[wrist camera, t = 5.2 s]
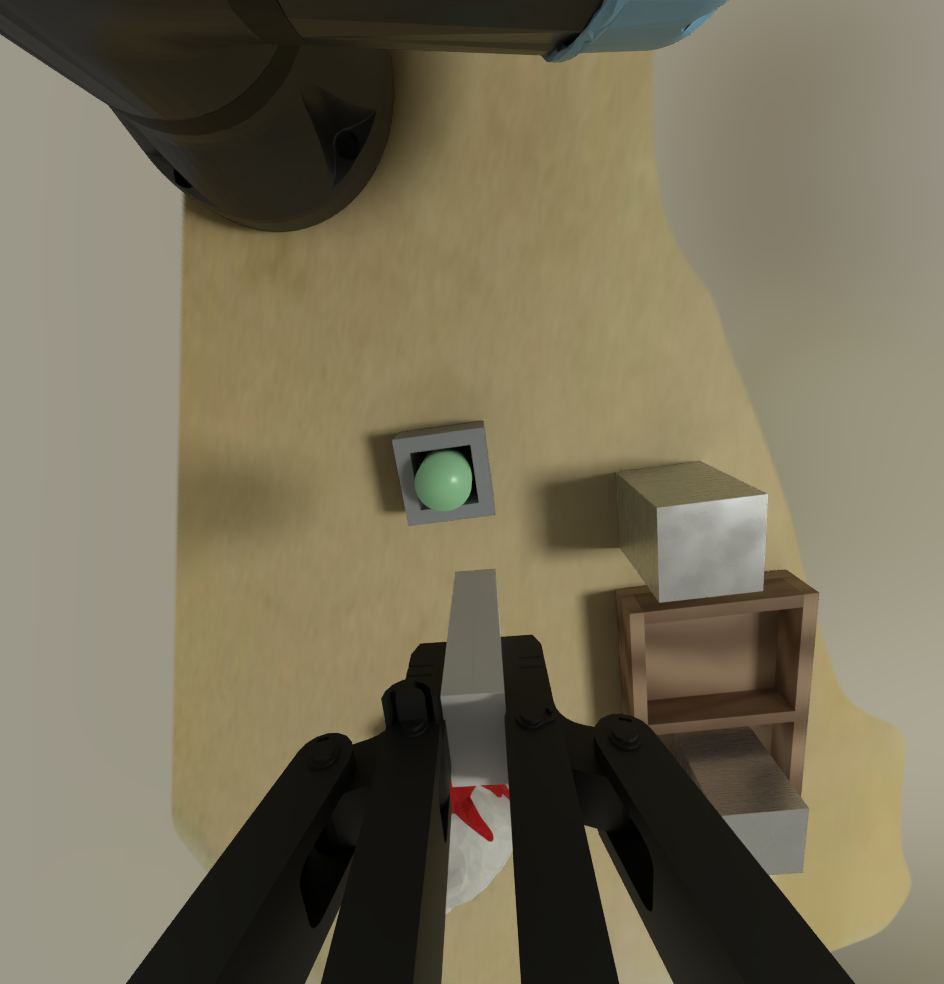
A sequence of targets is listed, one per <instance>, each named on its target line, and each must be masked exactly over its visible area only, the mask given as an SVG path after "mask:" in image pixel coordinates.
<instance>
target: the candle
mask: <svg viewBox="0 0 944 984" xmlns="http://www.w3.org/2000/svg"><path fill="white" fill-rule="evenodd" d="M450 798H451V805H452V815H451V831H450V848H449V864H448V880H447V897H446V913H445V914H447V913H449V912H450V910H452V909H453V907H455V906H458V905H460V904H463V903H465V902H468V901H470V900H471V899H472V898H474V897H475V896H476V895H478V894H479V893H480V892H481V891H483V890H484V889H485V888H486V887H487V886H488V885H489V884H490V882H491V881H492V879H493V878H494V876H496V875H497V874H498V873H499V872H500V870H501V869H502V868H503V866H504V865H505V863H506V861H507V860H508V858H509V857H510V855H511V853H512V851H513V847H512V832H511V816H510V800H509V785H508V784H499V785H481V786H463V787H452V780H451V781H450Z"/></svg>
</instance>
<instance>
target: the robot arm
mask: <svg viewBox="0 0 944 984" xmlns="http://www.w3.org/2000/svg"><path fill="white" fill-rule="evenodd" d="M727 1H728V0H0V34H1V35H2V36H4V37H5V38H7V39H8V40H10V41H11V42H13V43H14V44H16V45H17V46H19V47H20V48H22V49H23V50H25V51H26V52H28V53H30V54H31V55H33V56H34V57H36V58H37V59H39V60H40V61H42V62H43V63H45V64H46V65H48V66H49V67H51V68H52V69H54V70H55V71H57V72H58V73H60V74H61V75H63V76H64V77H66V78H67V79H69V80H70V81H72V82H74V83H75V84H77V85H78V86H80V87H81V88H83V89H84V90H86V91H87V92H89V93H90V94H92V95H93V96H95V97H96V98H98V99H100V100H101V101H103V102H104V103H106V104H107V105H109V107H110V108H111V109H112V111H113V112H114V113H115V114H116V116H117V117H118V119H119V120H120V121H121V122H122V124H123V125H124V126H125V128H126V129H127V130H128V132H129V133H130V134H131V135H132V137H133V138H134V139H135V141H136V142H137V143H138V145H139V146H140V147H141V148H142V150H143V151H144V152H145V154H146V155H147V156H148V157H149V159H150V160H151V161H152V162H153V163H154V165H155V166H156V167H157V168H158V169H159V170H160V171H161V173H163V174H164V175H165V176H166V177H167V178H168V179H169V180H170V181H171V182H172V183H173V184H174V185H175V186H177V187H178V188H179V189H180V190H181V191H182V192H184V193H185V194H186V195H188V196H189V197H190V198H192V199H193V200H195V201H196V202H198V203H199V204H201V205H203V206H205V207H206V208H208V209H210V210H212V211H214V212H216V213H217V214H219V215H221V216H223V217H225V218H227V219H229V220H231V221H233V222H236V223H238V224H241V225H244V226H247V227H251V228H255V229H259V230H266V231H292V230H299V229H303V228H307V227H310V226H314V225H316V224H319V223H321V222H323V221H325V220H327V219H329V218H331V217H332V216H334V215H336V214H337V213H339V212H340V211H341V210H343V209H344V208H345V207H346V206H347V205H348V204H350V203H351V202H352V201H353V200H354V199H355V198H356V197H357V196H358V194H359V193H360V192H361V191H362V190H363V188H364V187H365V186H366V184H367V183H368V181H369V180H370V178H371V177H372V175H373V173H374V171H375V170H376V168H377V166H378V164H379V161H380V159H381V157H382V154H383V152H384V149H385V146H386V143H387V139H388V135H389V131H390V126H391V121H392V114H393V102H394V80H393V68H392V61H391V55H390V50H389V49H396V50H421V51H446V52H471V53H496V54H521V55H541V56H542V57H543V58H544V59H545V60H546V61H547V62H554V63H556V62H564V61H566V60H569V59H572V58H574V57H575V56H577V55H578V54H579V53H595V52H622V51H648V50H655V49H659V48H663V47H666V46H669V45H671V44H674V43H675V42H678V41H679V40H682V39H683V38H685V37H686V36H688V35H690V34H691V33H692V32H693V31H695V30H696V29H697V28H698V27H699V26H700V25H702V24H703V23H704V22H705V21H706V20H707V19H708V18H709V17H711V16H712V14H713V13H714V12H715V11H716V10H717V9H718V7H720V6H722V5H723V4H725V3H726V2H727ZM381 700H382V706H383V711H384V717H385V723H386V730H385V731H384V732H382V733H381V734H379V735H377V736H375V737H373V738H370V739H368V740H365V741H362V742H359V743H356V744H353V745H352V742H351V740H350V739H349V738H348V737H347V736H345V735H343V734H340V733H328V734H324V735H321V736H318V737H316V738H314V739H313V740H311V741H309V742H308V743H306V744H305V745H304V746H303V747H302V748H301V749H300V750H299V751H298V753H297V754H296V755H295V757H294V758H293V759H292V761H291V762H290V763H289V765H288V766H287V768H286V769H285V770H284V772H283V773H282V774H281V776H280V777H279V778H278V780H277V781H276V782H275V784H274V785H273V786H272V788H271V789H270V790H269V792H268V793H267V794H266V796H265V797H264V799H263V800H262V801H261V803H260V804H259V805H258V807H257V808H256V809H255V811H254V812H253V813H252V815H251V816H250V817H249V819H248V820H247V821H246V823H245V824H244V825H243V827H242V828H241V829H240V831H239V832H238V834H237V835H236V836H235V838H234V839H233V840H232V842H231V843H230V844H229V846H228V847H227V848H226V850H225V851H224V852H223V854H222V855H221V856H220V858H219V859H218V860H217V862H216V863H215V864H214V866H213V867H212V869H211V870H210V871H209V873H208V874H207V875H206V877H205V878H204V879H203V881H202V882H201V883H200V885H199V886H198V888H197V889H196V890H195V891H194V893H193V894H192V895H191V897H190V898H189V899H188V901H187V902H186V904H185V905H184V906H183V908H182V909H181V910H180V912H179V913H178V914H177V916H176V917H175V918H174V920H173V921H172V922H171V924H170V925H169V926H168V928H167V929H166V930H165V932H164V933H163V934H162V936H161V937H160V939H159V940H158V941H157V943H156V944H155V946H154V947H153V948H152V949H151V951H150V952H149V953H148V955H147V956H146V957H145V959H144V960H143V961H142V963H141V964H140V965H139V967H138V968H137V970H136V971H135V972H134V974H133V975H132V976H131V978H130V979H129V980H128V982H127V983H126V984H305V982H306V980H307V978H308V976H309V973H310V971H311V969H312V967H313V965H314V963H315V960H316V958H317V956H318V954H319V952H320V950H321V947H322V945H323V943H324V941H325V939H326V936H327V934H328V932H329V930H330V928H331V926H332V923H333V921H334V919H335V917H336V915H337V913H338V910H339V908H340V911H339V915H338V919H337V922H336V926H335V930H334V934H333V938H332V942H331V946H330V950H329V954H328V958H327V962H326V966H325V970H324V973H323V977H322V981H321V984H441V979H442V963H443V946H444V930H445V913H446V897H447V880H448V864H449V848H450V831H451V815H452V805H451V798H450V781H451V780H452V787H463V786H481V785H499V784H508V785H509V800H510V816H511V832H512V847H513V863H514V879H515V894H516V910H517V926H518V941H519V957H520V973H521V984H619V981H618V976H617V972H616V967H615V963H614V958H613V954H612V949H611V945H610V940H609V936H608V931H607V926H606V922H605V917H604V913H603V908H602V904H601V899H600V895H599V890H598V886H597V881H596V877H595V872H594V868H593V863H592V859H591V854H590V850H589V845H588V841H587V836H586V832H585V827H584V825H586V826H590V827H593V828H597V829H598V832H599V835H600V837H601V839H602V841H603V843H604V845H605V847H606V849H607V851H608V853H609V855H610V857H611V859H612V861H613V863H614V865H615V867H616V869H617V871H618V873H619V875H620V877H621V879H622V881H623V883H624V885H625V887H626V889H627V891H628V893H629V895H630V897H631V899H632V901H633V903H634V905H635V907H636V909H637V911H638V913H639V915H640V917H641V919H642V921H643V923H644V925H645V927H646V929H647V931H648V933H649V935H650V937H651V939H652V941H653V943H654V945H655V947H656V949H657V951H658V953H659V955H660V957H661V959H662V961H663V963H664V965H665V967H666V969H667V971H668V973H669V975H670V977H671V979H672V981H673V983H674V984H855V983H854V982H853V980H852V979H851V978H850V977H849V975H848V974H847V973H846V972H845V970H844V969H843V968H842V967H841V965H840V964H839V963H838V962H837V960H836V959H835V958H834V957H833V955H832V954H831V953H830V952H829V950H828V949H827V948H826V947H825V945H824V944H823V943H822V942H821V940H820V939H819V938H818V937H817V935H816V934H815V933H814V932H813V930H812V929H811V928H810V927H809V925H808V924H807V923H806V922H805V920H804V919H803V918H802V917H801V915H800V914H799V913H798V912H797V910H796V909H795V908H794V907H793V905H792V904H791V903H790V901H789V900H788V899H787V898H786V896H785V895H784V894H783V893H782V891H781V890H780V889H779V888H778V886H777V885H776V884H775V883H774V881H773V880H772V879H771V878H770V876H769V875H768V874H767V873H766V871H765V870H764V869H763V868H762V866H761V865H760V864H759V863H758V861H757V860H756V859H755V858H754V856H753V855H752V854H751V853H750V851H749V850H748V849H747V848H746V846H745V845H744V844H743V843H742V841H741V840H740V839H739V838H738V836H737V835H736V834H735V833H734V831H733V830H732V829H731V828H730V826H729V825H728V824H727V823H726V821H725V820H724V819H723V818H722V816H721V815H720V814H719V813H718V811H717V810H716V809H715V808H714V806H713V805H712V804H711V803H710V801H709V800H708V799H707V798H706V796H705V795H704V794H703V793H702V791H701V790H700V789H699V788H698V786H697V785H696V784H695V783H694V781H693V780H692V779H691V778H690V776H689V775H688V774H687V773H686V771H685V770H684V769H683V768H682V766H681V765H680V764H679V763H678V761H677V760H676V759H675V757H674V756H673V755H672V754H671V752H670V751H669V750H668V749H667V747H666V746H665V745H664V744H663V742H662V741H661V740H660V739H659V737H658V736H657V735H656V734H655V732H654V731H653V730H652V729H651V728H650V727H649V726H648V725H647V724H646V723H645V722H643V721H642V720H640V719H638V718H636V717H633V716H630V715H625V714H612V715H608V716H606V717H604V718H602V719H600V720H599V722H598V723H597V724H596V725H595V727H591V726H586V725H582V724H578V723H575V722H573V721H571V720H569V719H567V718H565V717H564V716H563V715H562V714H560V712H559V711H558V710H557V709H556V707H555V704H554V701H553V696H552V692H551V687H550V683H549V678H548V673H547V669H546V664H545V660H544V655H543V650H542V646H541V643H540V642H539V641H538V640H537V639H536V638H535V637H534V636H533V635H521V636H507V637H501V630H500V618H499V607H498V595H497V583H496V571H495V569H486V570H473V571H460V572H455V579H454V587H453V595H452V604H451V612H450V620H449V629H448V637H447V642H437V643H423V644H420V645H419V646H418V647H417V648H416V649H415V651H414V652H413V653H412V654H411V658H410V662H409V668H408V671H407V675H406V679H405V680H402V681H400V682H398V683H395V684H393V685H392V686H391V687H390V688H389V689H387V690H386V691H385V693H384V695H383V697H382V698H381ZM340 906H341V907H340Z"/></svg>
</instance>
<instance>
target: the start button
mask: <svg viewBox="0 0 944 984" xmlns="http://www.w3.org/2000/svg"><path fill="white" fill-rule="evenodd" d="M471 485H472V464H471V461H470V459H469V458H468V456H467V455H466V454H465V453H464V452H463V451H462V450H460V449H458V448H456V447H451V448H443V449H436V450H431V451H430V452H429V453H428V454H427V455H426V457H425V458H424V460H423V462H422V464H421V466H420V468H419V469H418V471H417V473H416V476H415V490H416V493H417V496H418V497H419V499H420V500H421V501H422V503H423V504H425V505H426V506H427V507H429V508H431V509H433V510H436V511H451V510H454V509H456V508H458V507H460V506H461V505H462V504H464V502H465V501H466V500H467V499H468V497H469V495H470V492H471Z"/></svg>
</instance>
